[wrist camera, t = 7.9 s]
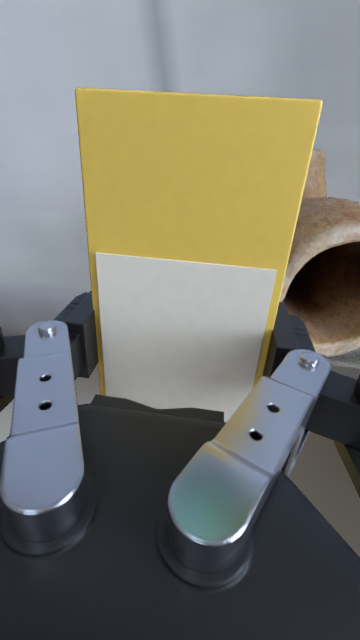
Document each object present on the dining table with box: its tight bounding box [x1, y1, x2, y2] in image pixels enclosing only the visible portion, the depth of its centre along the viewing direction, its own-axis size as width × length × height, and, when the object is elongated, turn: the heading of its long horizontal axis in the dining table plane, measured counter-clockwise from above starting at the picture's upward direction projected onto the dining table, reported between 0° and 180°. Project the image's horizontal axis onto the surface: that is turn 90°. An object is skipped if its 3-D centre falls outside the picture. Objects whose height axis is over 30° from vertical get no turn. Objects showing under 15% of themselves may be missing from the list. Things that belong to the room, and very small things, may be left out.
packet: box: [75, 88, 323, 423], centre depth 13 cm, size 15×6×4 cm, turn 177°
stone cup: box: [279, 150, 360, 357], centre depth 26 cm, size 15×12×15 cm
